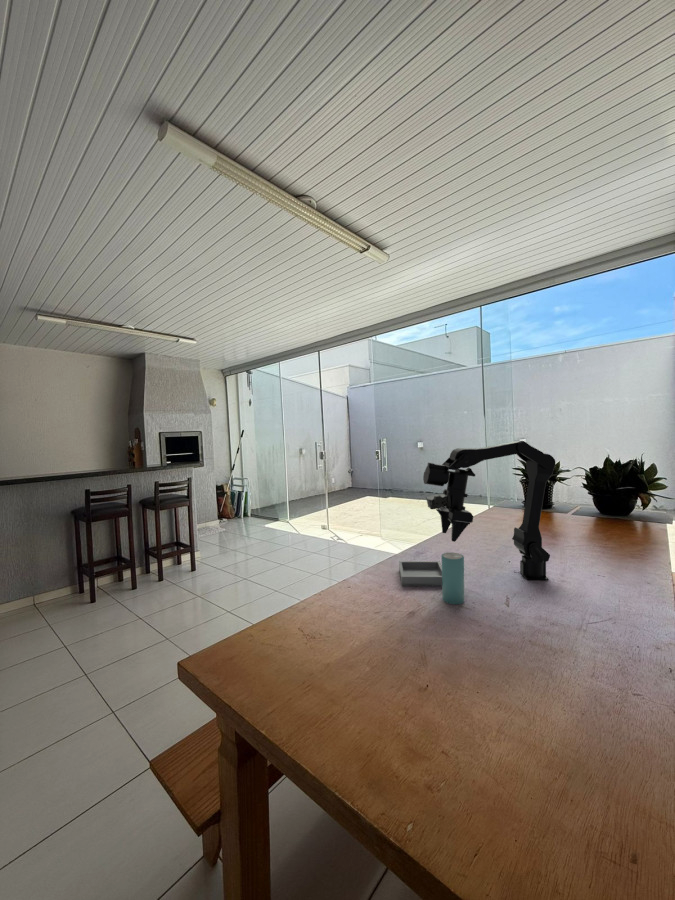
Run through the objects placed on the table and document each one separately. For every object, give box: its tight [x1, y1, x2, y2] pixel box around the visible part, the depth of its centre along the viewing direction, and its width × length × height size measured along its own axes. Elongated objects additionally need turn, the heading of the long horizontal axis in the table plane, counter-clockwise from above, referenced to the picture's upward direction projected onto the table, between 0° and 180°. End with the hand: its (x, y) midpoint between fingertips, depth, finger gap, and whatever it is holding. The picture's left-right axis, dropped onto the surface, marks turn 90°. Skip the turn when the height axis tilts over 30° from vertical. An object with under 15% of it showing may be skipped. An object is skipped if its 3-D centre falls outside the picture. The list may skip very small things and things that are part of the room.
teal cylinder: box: [441, 552, 465, 605], centre depth 109 cm, size 6×6×13 cm
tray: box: [398, 560, 442, 587], centre depth 125 cm, size 14×14×3 cm
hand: (448, 537), depth 122 cm, fingers open, 9 cm apart
